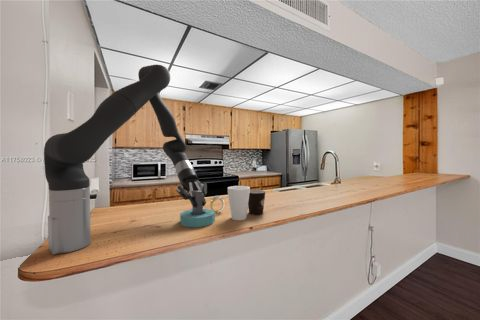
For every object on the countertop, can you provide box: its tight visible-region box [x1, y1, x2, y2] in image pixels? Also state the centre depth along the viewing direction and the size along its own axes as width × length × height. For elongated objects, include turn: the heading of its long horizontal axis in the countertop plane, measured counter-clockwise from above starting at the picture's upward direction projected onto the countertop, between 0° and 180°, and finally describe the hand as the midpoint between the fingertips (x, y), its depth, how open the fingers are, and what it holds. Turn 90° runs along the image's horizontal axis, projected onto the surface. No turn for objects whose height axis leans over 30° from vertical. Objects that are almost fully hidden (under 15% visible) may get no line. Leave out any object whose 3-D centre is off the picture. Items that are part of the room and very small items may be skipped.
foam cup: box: [227, 185, 251, 221], centre depth 87 cm, size 10×9×13 cm
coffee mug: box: [248, 189, 266, 216], centre depth 95 cm, size 12×9×10 cm
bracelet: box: [209, 195, 226, 214], centre depth 96 cm, size 7×3×8 cm, turn 115°
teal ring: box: [179, 208, 216, 228], centre depth 83 cm, size 13×13×4 cm
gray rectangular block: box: [191, 190, 204, 215], centre depth 83 cm, size 3×3×10 cm
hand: (200, 205), depth 81 cm, fingers closed on gray rectangular block, 3 cm apart
